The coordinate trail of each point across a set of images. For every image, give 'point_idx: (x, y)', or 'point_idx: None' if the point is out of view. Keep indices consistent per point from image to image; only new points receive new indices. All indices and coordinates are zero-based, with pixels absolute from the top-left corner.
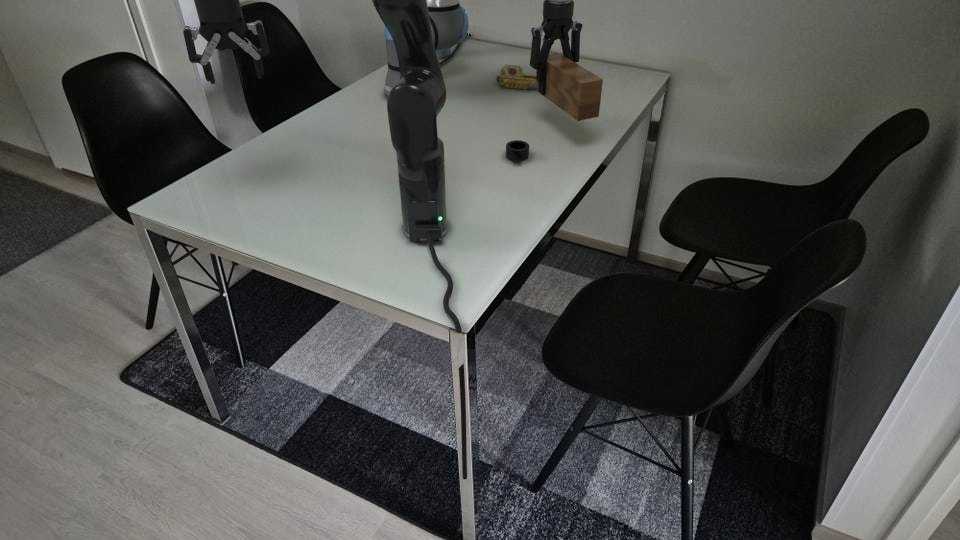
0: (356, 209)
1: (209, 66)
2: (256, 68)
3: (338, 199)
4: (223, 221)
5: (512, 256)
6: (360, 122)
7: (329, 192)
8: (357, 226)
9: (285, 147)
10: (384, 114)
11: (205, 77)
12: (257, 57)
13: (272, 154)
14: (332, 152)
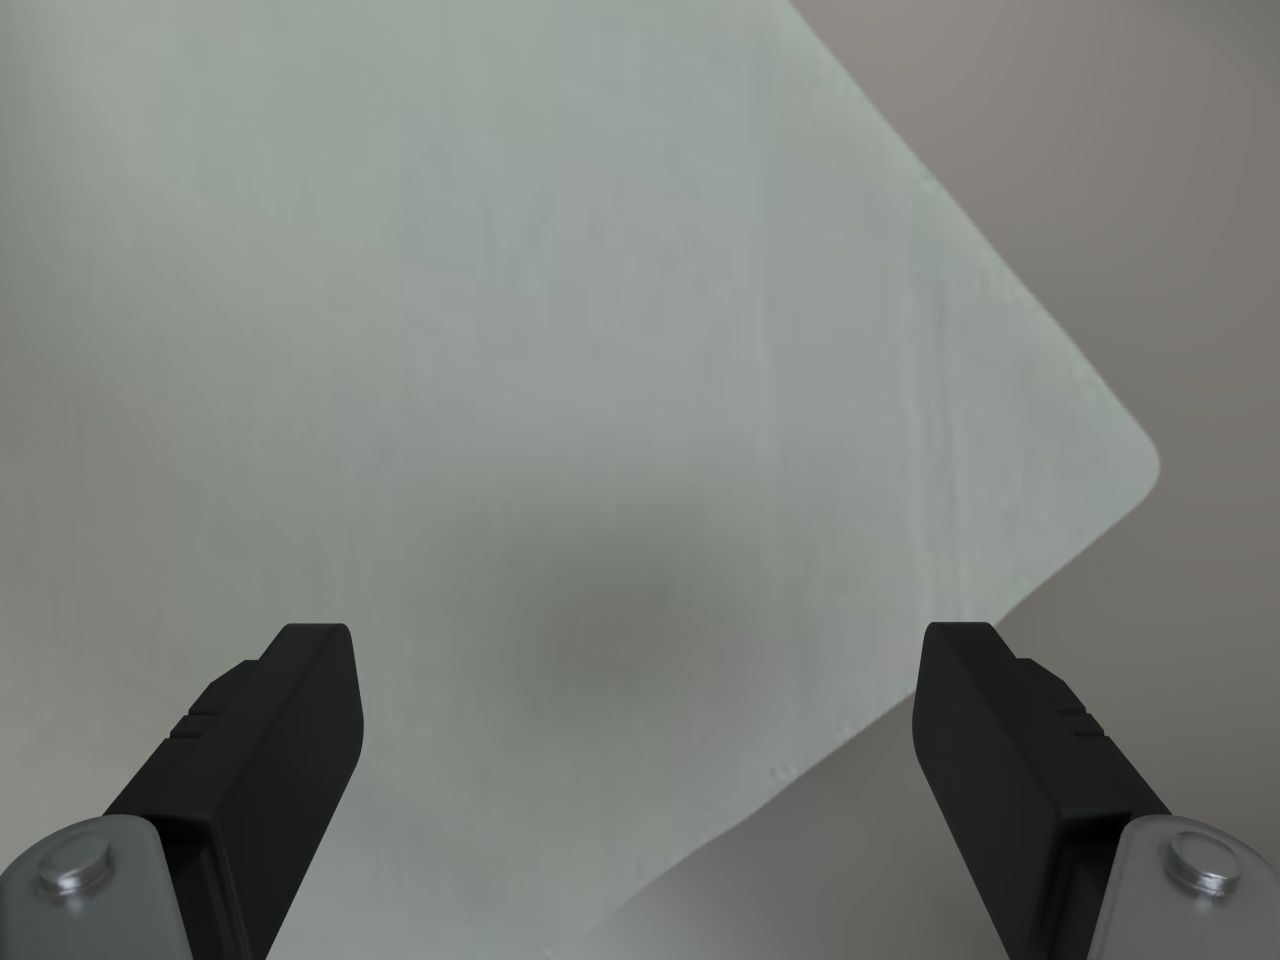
0: (226, 189)
1: (1059, 798)
2: (260, 712)
3: (316, 310)
4: (841, 271)
5: None
6: None
7: (360, 386)
8: (214, 18)
9: (552, 803)
10: None
11: (1073, 697)
12: (75, 849)
13: (606, 764)
14: None
